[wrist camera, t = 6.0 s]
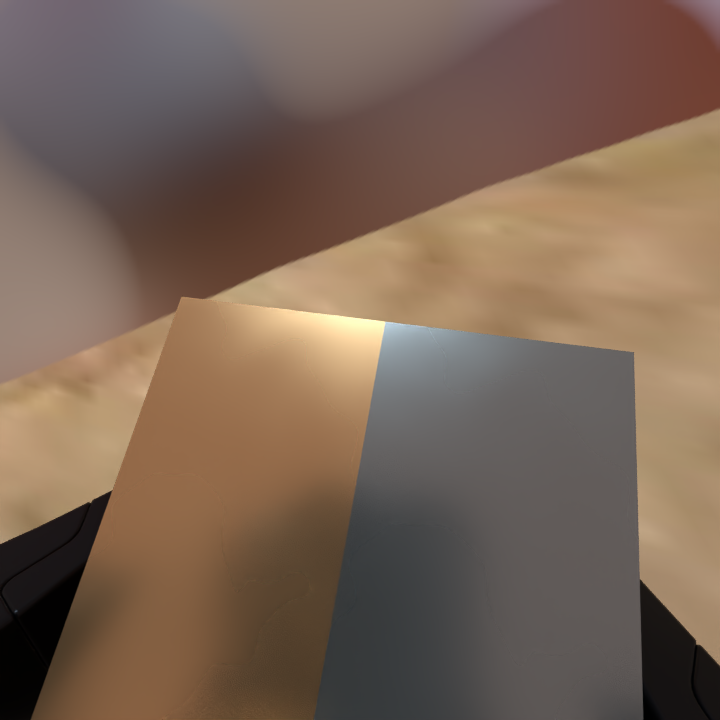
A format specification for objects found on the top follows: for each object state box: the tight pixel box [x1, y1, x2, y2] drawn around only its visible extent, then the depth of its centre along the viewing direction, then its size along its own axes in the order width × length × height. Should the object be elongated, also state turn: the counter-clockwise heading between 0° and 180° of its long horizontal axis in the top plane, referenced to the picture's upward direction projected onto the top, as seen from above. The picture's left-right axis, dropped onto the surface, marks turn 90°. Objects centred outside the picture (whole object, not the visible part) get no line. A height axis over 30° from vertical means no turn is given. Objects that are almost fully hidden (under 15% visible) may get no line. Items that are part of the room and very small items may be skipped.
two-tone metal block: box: [31, 297, 643, 720], centre depth 9 cm, size 6×6×11 cm
